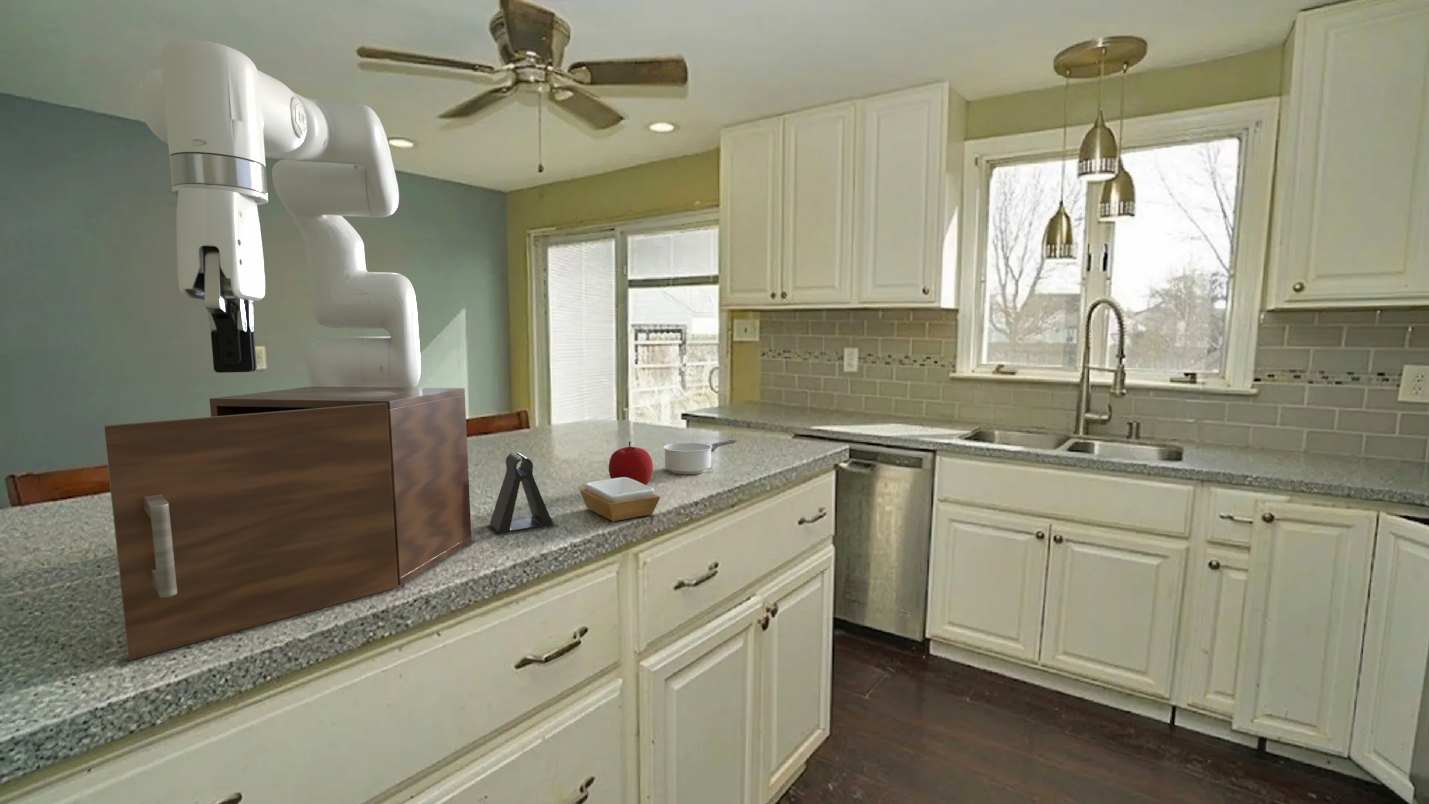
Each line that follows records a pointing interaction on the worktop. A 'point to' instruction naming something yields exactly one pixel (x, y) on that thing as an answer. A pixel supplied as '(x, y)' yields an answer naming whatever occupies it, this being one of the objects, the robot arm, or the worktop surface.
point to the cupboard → (401, 460)
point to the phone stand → (509, 494)
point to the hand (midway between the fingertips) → (235, 371)
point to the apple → (631, 464)
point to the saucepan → (690, 456)
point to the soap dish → (619, 498)
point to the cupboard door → (248, 519)
